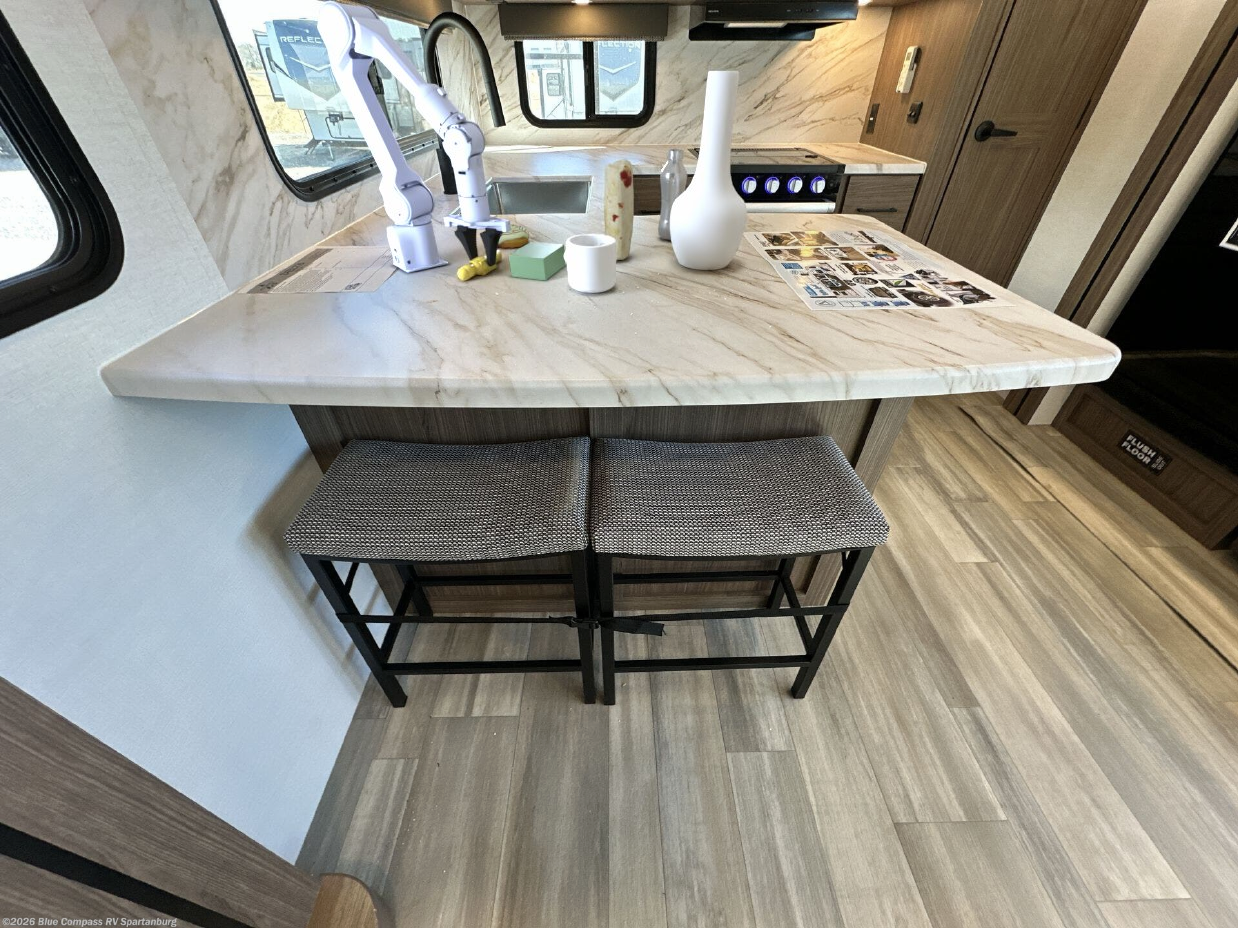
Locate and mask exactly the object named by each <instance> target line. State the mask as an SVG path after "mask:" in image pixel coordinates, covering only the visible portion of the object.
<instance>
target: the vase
mask: <svg viewBox="0 0 1238 928" xmlns="http://www.w3.org/2000/svg"><path fill="white" fill-rule="evenodd" d="M739 80H740V71H738V70H708V73H707V78H706V89H705V101H704V112H703V119H702V120H703V122H702V131H701V138H700V147H699V154H698V158H697V164H696V167H695V172H694V175H693V177H692V179H691V182H690V183H689V185H688V187H687V188H685V191H684V192H683V193H682V194H681V195H680V196H679V197H678V198H677V199H676V200H675V202H674V203H673V206H672V209H671V214H670V234H671V240H670V241H671V245H672V249H673V253H674V255H675V257H676V259H677V261H678V264H680V265H681V266H682V267H686V268H689V269H692V270H700V271H713V270H714V271H715V270H716V271H717V270H720V269H725V268H726V267H728V266H729V264H730V263H731V262H732V260H733V258H734V257H735V256H736V254H737V252H738V249H739V247H740V245H741V243H742V240H743V237H744V234H745V231H746V226H747V222H748V221H747V220H748V209H747V205H746V203H745V200H744V199H743V198H742V196H740V194H738V191H736V188H735V187H734V185H733V181H732V176H731V175H732V174H731V154H732V153H731V151H732V140H733V139H732V138H733V129H734V121H735V114H736V112H735V111H736V104H737V97H738V90H739V82H740V81H739Z"/></svg>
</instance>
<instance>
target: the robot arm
mask: <svg viewBox="0 0 1238 928" xmlns="http://www.w3.org/2000/svg"><path fill="white" fill-rule="evenodd" d="M316 28H317V31H318V33H319V35H320V37H321V39H322V41H323V43H324V45H325V47H326V50H327V54H328V59H329V63H330V68H331V72H332V74H333V76H334V78H335V81H336V83H337V85H338V87H339V89H340V90H341V93H342V95H343V97H344V99H345V102H346V103H347V105H348V107H349V109H350V111H351V113H352V115H353V117H354V119H355V121H356V124H357V125H358V128H359V130H360V132H361V134H362V136H363V138H364V140H365V142H366V144H367V146H368V149H369V151H371V154H372V157H373V158H374V161H375V163H376V165H377V167H378V169H379V171H380V173H381V176H382V178H381V181H380V183H379V187H378V190H379V191H380V194H381V196H382V199H383V206H384V209H385V212H386V214H387V215H388V217H389V218H390V219H391V221H393V222H394V224H393V225H389V226H387V228H386V237H387V240H388V241H387V242H388V245H389V248H390V253H391V256H392V260H393V261H392V264H393V265H394V266H396V267H397V268H399V269H401V270H402V271H404V272H406V273H413V272H419V271H422V270H427V269H431V268H437V267H440V266H445V265H448V261H446V260H444V259H442V258H440V254H439V250H438V244H437V240H436V235H435V230H434V226H433V221H432V219H433V212H434V210H435V208H436V200H435V196H434V195H433V193H432V191H431V190H430V189H429V188H428V187H427V185H426V184H425V183H424V181H423V179H422V177H421V175H420V174H418V173H417V172H416V171H415V170H414V169H412V168H411V167H410V166H409V165H408V163H407V161H406V158H405V156H404V154H403V152H402V150H401V147H400V145H399V142H398V141H397V139H396V137H395V134H394V132H393V130H392V128H391V126H390V123H389V122H388V120H387V117H386V115H385V113H384V110H383V108H382V105H381V103H380V101H379V99H378V97H377V95H376V93H375V90H374V88H373V87H372V84H371V82H370V80H369V77H368V73H369V70H370V66H371V65H372V63H373V61H374V60H375V59H377V60H379V61H380V62H381V64H382V65H384V67H386V69H387V70H388V71H389V72H390V73H391V74H392V75H393V76H394V77H395V78H396V79H397V80H398V81H399V82H400V83H401V84H402V86H403V87H405V89H406V90H407V91H408V92H409V93H410V94H411V96H413V97H414V106H415V109H416V110H417V112H418V113H419V114H420V115H421V116H422V117H423V118H424V120H425V121H426V122H427V123H428V124H429V126H431V128H432V129H433V130H434V132H436V134H437V135H438V136H439V137H440V138H441V139H442V140H443V141H442V142H441V143H442V146H443V147H442V148H443V149H444V152H445V153H446V155H447V156H448V157H449V159H450V162H451V167H452V168H453V173H454V179H455V185H456V191H457V196H458V203H459V207H460V213H461V214H448V215H447V214H446V215H444V216H443V222H444V226H445V227H446V228H451V227H456V230H454V236H455V237H456V238H457V239H458V241H459V242H460V244H461V245H462V247H463V249H464V251H465V252H466V255H467V257H468V259H469V262H470V261H471V260H472V259H474V258H476V257H478V256H479V251H478V243H477V230H478V229H479V230H484V231H481V232H480V233H479V236H480V238H481V241H482V244H483V247H484V251H485V253H486V257H487V263H488V266H493V265H495V264H496V265H497V263H496V254H497V250H498V247H499V246H498V243H499V240H500V237H501V234H502V232H508V231H510V230H511V225H510V224H511V220H510V219H503V218H499V217H495V216H491V212H490V204H489V198H488V190H487V182H486V176H485V175H486V174H485V169H484V161H483V155H482V154H483V153H484V152H485V148H486V137H485V135H484V133H483V130H482V129H481V128H480V126H479V124H478V123H476V122H474V121H472V120H467V116H466V115H465V114H464V113H463V112H460V110H459V109H458V108H457V107H456V106H455V104H454V103H453V102H452V101H451V100H450V99H449V97H448V92H447V90H446V89H445V88H444V87H440V86H439V85H437V84H436V83H428V82H427V81H426V79H425V78H424V77H423V75H422V74H421V73H420V71H419V70H418V69H417V67H416V65H414V63H413V62H412V61H411V60H410V58H409V57H408V55H407V54H406V53H405V51H404V50H403V49H402V47H400V45H399V44H398V43H397V41H396V40H395V39H394V37H393V35H392V34H391V32H390V28H389V25H388V24H387V23H386V22H385V21H383V20H382V19H381V18H380V16H379V15H378V13H377V12H376V11H375V10H374V9H373V8H371V7H370V6H368V5H364V4H363V5H361V4H360V5H357V4H356V5H355V4H347V3H342V2H341V3H340V2H337V1H335V0H327V1H324V2H323V3H322V5H321V6H320V9H319V14H318V19H317V25H316Z"/></svg>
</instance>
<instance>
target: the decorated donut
mask: <svg viewBox="0 0 1238 928" xmlns="http://www.w3.org/2000/svg"><path fill="white" fill-rule="evenodd" d="M510 225H511V230H510V231H508V232H502V234H501V237H500V240H499V243H498V247H500V248H503V249H507V248H510V249H511V248H512V249H513V248H521V247H523V246H525V245H527V244H528V243H529V240H530V230H529V229H528V228H527V227H526V226H523V225H520V224H511V223H510Z"/></svg>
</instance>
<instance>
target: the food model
mask: <svg viewBox="0 0 1238 928" xmlns="http://www.w3.org/2000/svg"><path fill="white" fill-rule="evenodd" d="M634 198H635V197H634V174H633V164H632V163H631V161H630V160H629V159H627V158H622V159H619V160H615V161H613V162H612V163H608V165H607V164H605V167H604V201H603V215H604V217H603V218H604V219H603V220H604V235H607V236H611V237H613V238H614V239H615V240H616V261H619V260H621V261H622V260H625V259H626V258H628V256H629V254H630V251H631V244H632V238H633V232H634V218H635V217H634V216H635V215H634V212H635V211H634V206H635V205H634V201H635V200H634Z"/></svg>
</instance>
